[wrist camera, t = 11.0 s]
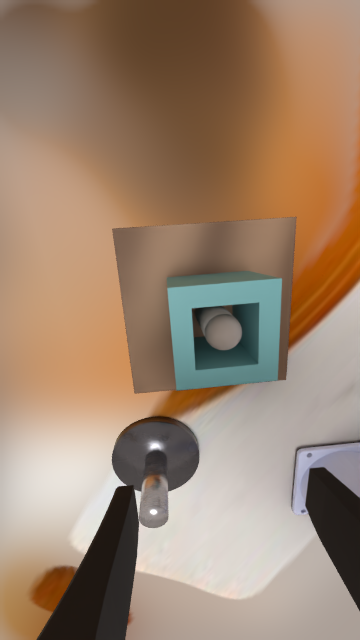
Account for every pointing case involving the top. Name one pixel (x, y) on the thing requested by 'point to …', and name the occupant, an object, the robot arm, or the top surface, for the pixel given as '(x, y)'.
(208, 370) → the teal collar
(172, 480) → the round base with peg
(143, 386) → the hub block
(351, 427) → the top surface
